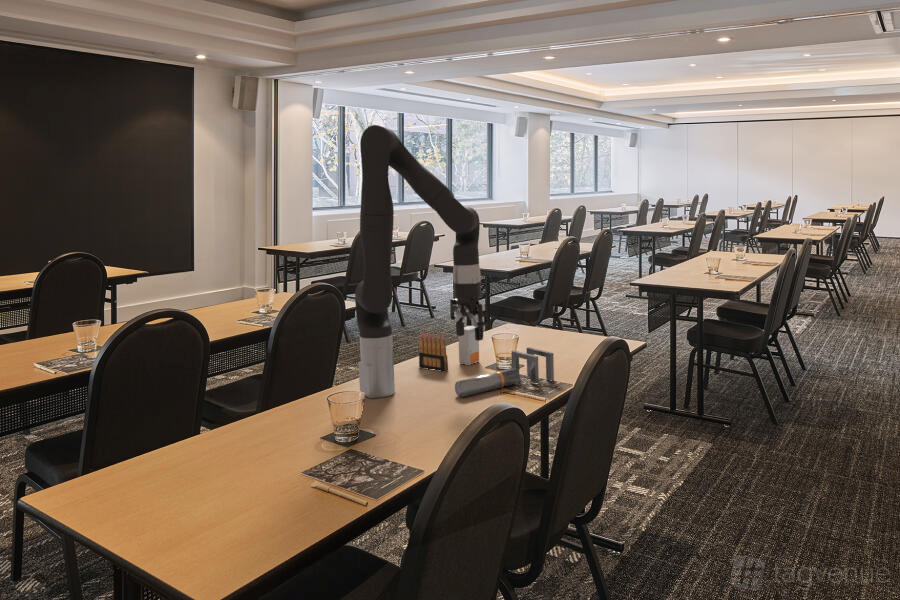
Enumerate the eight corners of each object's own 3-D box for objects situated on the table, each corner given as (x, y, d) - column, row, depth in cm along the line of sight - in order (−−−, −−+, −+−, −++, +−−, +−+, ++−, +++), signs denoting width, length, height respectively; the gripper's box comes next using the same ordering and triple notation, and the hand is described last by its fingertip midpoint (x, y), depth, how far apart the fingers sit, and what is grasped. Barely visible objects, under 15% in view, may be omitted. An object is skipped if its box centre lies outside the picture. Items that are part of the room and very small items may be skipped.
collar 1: (535, 385, 214) (535, 357, 213) (512, 378, 223) (511, 351, 222) (538, 384, 215) (538, 356, 214) (515, 377, 224) (514, 350, 222)
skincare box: (469, 366, 239) (468, 330, 237) (458, 364, 242) (457, 328, 240) (480, 362, 244) (478, 326, 242) (469, 360, 247) (468, 325, 245)
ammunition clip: (419, 367, 240) (417, 331, 238) (422, 366, 241) (421, 330, 239) (444, 372, 233) (443, 335, 231) (448, 370, 235) (446, 333, 233)
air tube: (464, 399, 204) (464, 382, 203) (455, 395, 207) (454, 379, 207) (520, 385, 215) (519, 369, 214) (509, 382, 219) (509, 366, 218)
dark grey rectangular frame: (550, 381, 218) (550, 353, 216) (527, 374, 226) (526, 347, 225) (553, 380, 218) (553, 353, 217) (530, 373, 227) (529, 347, 226)
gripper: (441, 279, 206) (444, 336, 209) (472, 284, 195) (474, 344, 197) (462, 276, 211) (465, 332, 213) (494, 280, 199) (496, 339, 202)
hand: (469, 337), depth 205 cm, fingers open, 8 cm apart
